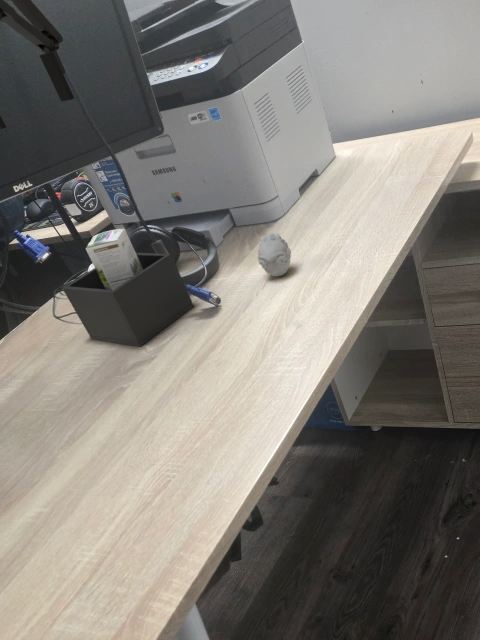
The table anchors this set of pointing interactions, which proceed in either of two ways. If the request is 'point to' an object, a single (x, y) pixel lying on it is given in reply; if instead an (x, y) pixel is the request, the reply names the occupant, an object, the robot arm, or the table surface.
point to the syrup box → (113, 258)
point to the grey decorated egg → (274, 255)
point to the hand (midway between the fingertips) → (35, 114)
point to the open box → (131, 302)
